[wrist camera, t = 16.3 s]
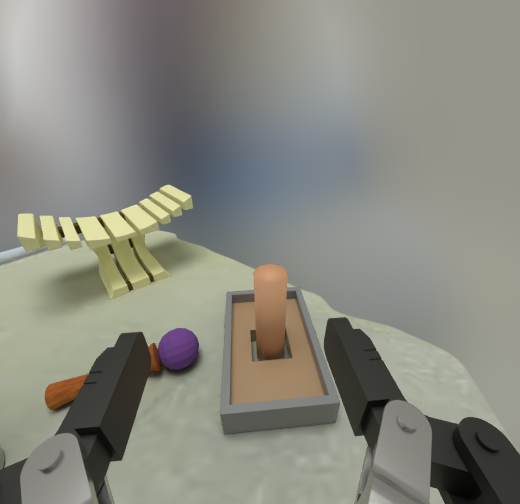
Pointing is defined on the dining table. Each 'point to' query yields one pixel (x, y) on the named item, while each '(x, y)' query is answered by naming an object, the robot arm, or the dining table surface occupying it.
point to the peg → (270, 311)
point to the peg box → (274, 372)
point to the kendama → (169, 353)
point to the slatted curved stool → (112, 238)
